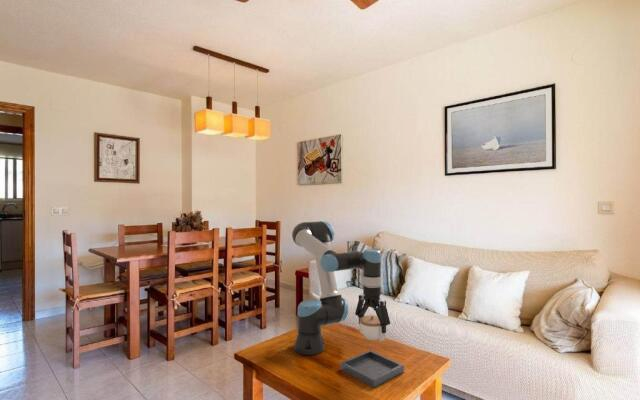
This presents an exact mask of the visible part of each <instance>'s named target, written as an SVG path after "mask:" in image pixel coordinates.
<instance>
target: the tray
mask: <svg viewBox="0 0 640 400" xmlns="http://www.w3.org/2000/svg"><path fill="white" fill-rule="evenodd" d="M339 367H340V370H341V371H342V372H345V373H346V374H348V375H349V376H350V377H351V376H352V377H354V379H357V380H359V381H361V382H363V383H365V384H366V385H368V386H369V387H372V388H373V389H375V388H377V387H379V386H380V385H382V384H384V383H386V382H388V381H390V380H392V379H394V378H395V377H398V376H399V375H401V374H403V373H404V372H405V365H404V364H402V363H400V362H398V361H395V360H393V359H391V358H388V357H386V356H384V355H382V354H380V353H378V352H375V351H374V350H372V349H369V350H367V351H365V352H361V353H359V354H357V355H355V356H353V357H351V358H348V359H346V360H344V361H341V362H340V364H339Z"/></svg>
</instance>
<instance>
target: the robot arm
mask: <svg viewBox="0 0 640 400" xmlns="http://www.w3.org/2000/svg"><path fill="white" fill-rule="evenodd" d="M334 236H335V231H334V228H333V226H332V224H330V222H328V221H304V222H300V223H298V224H297V225H296V226H294V227H293V229H292V232H291V237H292V240H293V242H294V244H295V245H297V246H298V247H300V248H303V249H305V251H307V252H309V254H311V255H312V256H313V257H315V263H316V269H317V274H318V280H319V286H320V292H321V295H320V296H319V299H318V298H313V299H312V298H309V299H305V300H303V301H301V302H300V303H299V304H298V306H297V313H296V314H297V335H296V338H295V341H294V345H293V346H294V348H293V349H294V351H295V352H297V353H298V354H300V355H304V356H305V355H306V356H313V355H318V354H322V353H323V351H324V350H325V349H326V348H325V345H326V344H325V342H324V338H323V335H322V326H329V325H333V324H338V323H341V322H344V321H345V320H346V319H347V317H348V316H349V304H348V302H347V300H346V299H345V298H344V297H342V293H340V292H339V291H338V287H337V281H336V276H335V275H336V274H335V272H339V271H340V272H341V271H346V270H347V271H348V270H355V269H357V270H358V269H359V270H363V271H362V272H363V278H362V279H363V280H362V282H363V283H362V285H363V287H362V289H363V290H362V291H363V293H361V294H358V301H357V305H356V309H355V313H354V314H355V315H356V316H357V317H358V325H359V326H360V318H361V317H363V316H365V314H366V312H367V311H368V309H369V308H372V309H373V311H375V313H376V316H378V319H379V321H380V323H381V325H379V339H378V341H379V342H382V341H385V340H386V333H387V326H388V325H390V324H391V321H390V316H389V312H388V309H387V308H388V307H387V300H382V299H381V298H380V296H381V295H382V294H381V293H382V291H381V290H382V289H381V288H382V287H381V285H382V284H381V279H382V278H381V275H382V274H381V273H382V271H381V268H382V264H381V262H382V259H381V256H382V255H381V251H380V250H379V249H373V248H371V249H364V250H363V252H362V251H359V250H349V252H341V253H340V252H339V253H338V252H336V251H334V250H333V249H332V248H330V247H331V245H332V242H333V241H334V239H335V237H334ZM359 334H362V332H361V329H360V328H359Z"/></svg>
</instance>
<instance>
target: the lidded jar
mask: <svg viewBox="0 0 640 400" xmlns="http://www.w3.org/2000/svg"><path fill="white" fill-rule="evenodd" d="M379 325H381V323H380V321H379V319H378V316H377V315H373V314H372V315H371V314H370V315H364V316H363V317H361V318H360V325H359V330H360V329H361V332H362V333H361V334H362V335H363V336H364V338H365V339H367V340H370V341H376V340H377V341H378V340H379Z"/></svg>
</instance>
